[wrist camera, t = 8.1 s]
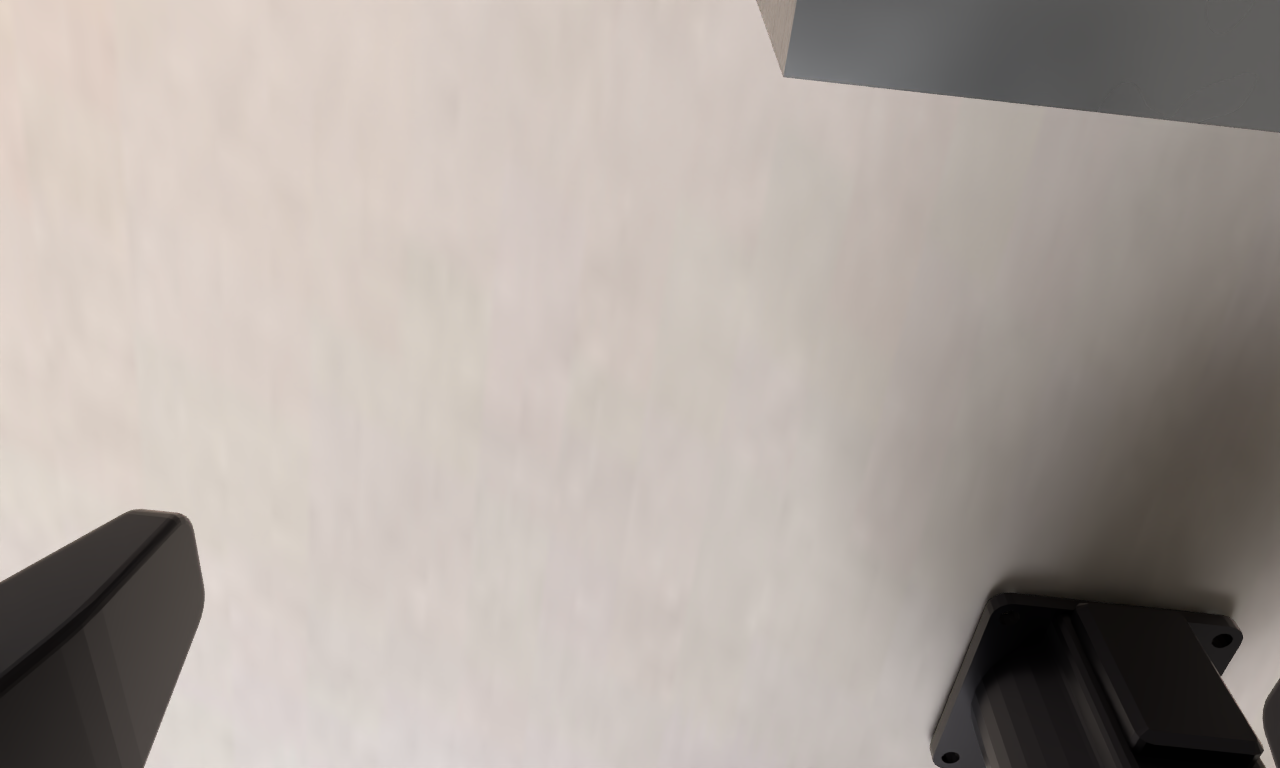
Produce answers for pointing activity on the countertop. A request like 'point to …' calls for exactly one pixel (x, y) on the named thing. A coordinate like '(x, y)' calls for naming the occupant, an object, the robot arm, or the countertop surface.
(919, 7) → the brushed metal cube
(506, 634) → the countertop surface
